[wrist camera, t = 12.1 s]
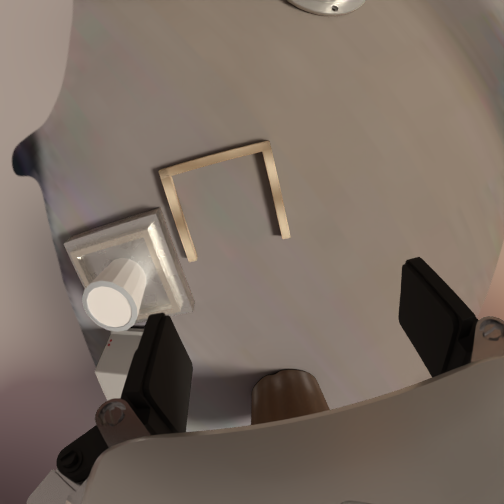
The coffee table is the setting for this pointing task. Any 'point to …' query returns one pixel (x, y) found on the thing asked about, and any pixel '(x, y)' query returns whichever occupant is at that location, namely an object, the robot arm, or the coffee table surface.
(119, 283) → the white cup
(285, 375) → the plant pot
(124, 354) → the toy vehicle
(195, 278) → the coffee table surface
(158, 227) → the plate
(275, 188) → the cradle
